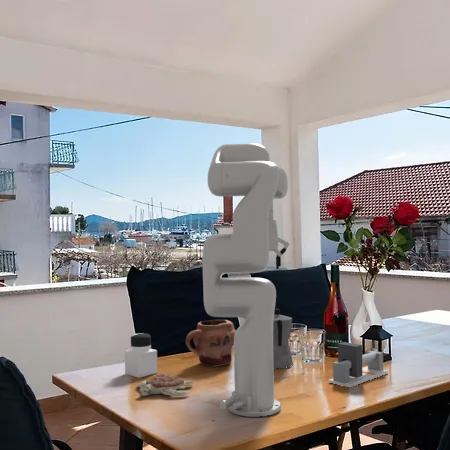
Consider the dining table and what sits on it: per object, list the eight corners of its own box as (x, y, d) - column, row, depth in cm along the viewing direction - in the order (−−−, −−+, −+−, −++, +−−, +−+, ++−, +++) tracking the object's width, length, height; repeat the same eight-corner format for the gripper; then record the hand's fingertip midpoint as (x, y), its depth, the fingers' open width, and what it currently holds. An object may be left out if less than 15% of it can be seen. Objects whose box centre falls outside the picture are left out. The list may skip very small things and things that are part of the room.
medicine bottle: (157, 373, 164) (157, 333, 164) (139, 378, 159) (138, 337, 159) (143, 369, 169) (142, 331, 169) (124, 374, 164) (124, 334, 164)
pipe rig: (350, 388, 145) (349, 365, 145) (328, 383, 150) (328, 361, 150) (387, 373, 159) (387, 352, 159) (366, 369, 164) (366, 349, 164)
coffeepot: (262, 360, 178) (261, 306, 178) (290, 360, 178) (289, 305, 178) (265, 372, 162) (264, 313, 163) (296, 372, 162) (295, 312, 162)
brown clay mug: (201, 374, 162) (200, 328, 162) (175, 367, 171) (175, 323, 171) (247, 362, 176) (246, 319, 176) (221, 356, 185) (220, 315, 185)
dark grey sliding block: (356, 377, 149) (356, 346, 149) (338, 373, 153) (337, 343, 153) (362, 375, 151) (362, 344, 151) (344, 371, 155) (343, 342, 155)
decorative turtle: (118, 393, 146) (118, 374, 146) (164, 379, 158) (163, 362, 158) (163, 407, 134) (163, 386, 134) (209, 391, 146) (208, 372, 146)
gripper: (234, 216, 170) (235, 270, 170) (289, 215, 170) (290, 269, 170) (235, 216, 178) (236, 268, 178) (287, 216, 177) (288, 267, 177)
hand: (262, 269), depth 174 cm, fingers open, 9 cm apart
